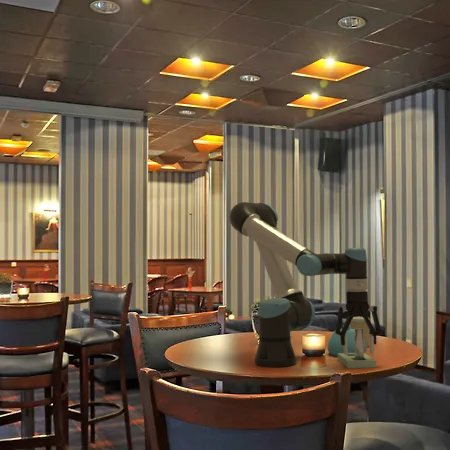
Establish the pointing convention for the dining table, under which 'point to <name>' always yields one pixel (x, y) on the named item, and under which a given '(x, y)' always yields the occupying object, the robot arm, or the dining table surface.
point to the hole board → (356, 361)
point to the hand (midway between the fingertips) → (358, 353)
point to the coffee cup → (361, 327)
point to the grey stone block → (359, 344)
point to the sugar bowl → (335, 343)
